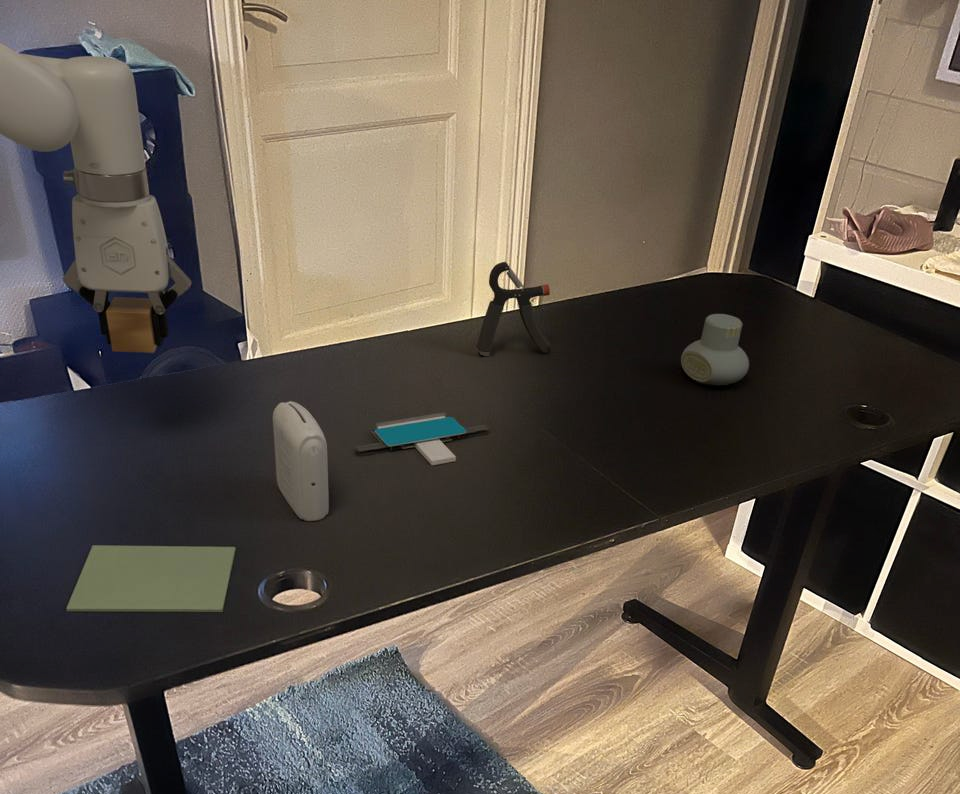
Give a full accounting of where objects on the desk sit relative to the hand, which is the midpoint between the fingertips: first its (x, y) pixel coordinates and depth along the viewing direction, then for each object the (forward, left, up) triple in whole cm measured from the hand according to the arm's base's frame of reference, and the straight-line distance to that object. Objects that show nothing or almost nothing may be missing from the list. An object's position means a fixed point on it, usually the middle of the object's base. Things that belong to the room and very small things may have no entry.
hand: (136, 339), depth 121 cm
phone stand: (+37, +3, -15) cm, 40 cm away
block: (0, 0, -1) cm, 1 cm away
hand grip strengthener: (+53, +36, -15) cm, 65 cm away
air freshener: (+85, +28, -15) cm, 90 cm away
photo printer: (+21, -13, -15) cm, 29 cm away
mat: (+6, -30, -15) cm, 34 cm away
